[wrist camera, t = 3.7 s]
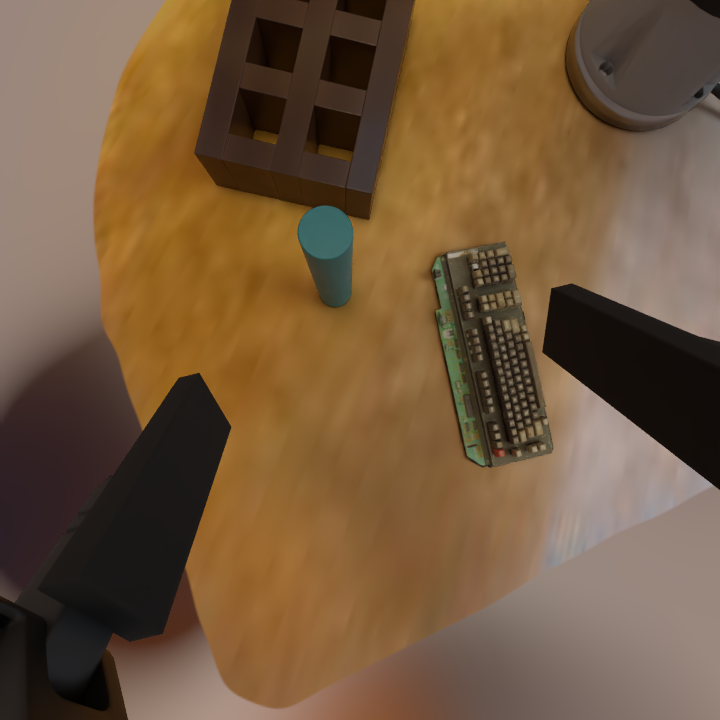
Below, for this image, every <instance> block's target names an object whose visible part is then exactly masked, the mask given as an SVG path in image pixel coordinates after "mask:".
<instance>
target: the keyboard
mask: <svg viewBox="0 0 720 720" xmlns="http://www.w3.org/2000/svg"><path fill="white" fill-rule="evenodd" d="M431 273H432V276H433V280H434V281H435V284H436V287H435V288H436V290H437V296H438V300H439V304H440V307H441V308H440V309H437V311H436V312H435V315H436V319H437V323H438V329H439V333H440V337H441V342H442V346H443V351H444V354H445V363H446V366H447V369H448V374H449V380H450V383H451V389H452V394H453V398H454V403H455V408H456V413H457V416H458V419H459V426H460V431H461V435H462V441H463V444H464V446H465V448H464V449H465V451H466V455H467V457H468V458H469V459H471V460H472V461H473V462H474V463H476V464H478V465H480V466H481V467H484V466H488V467H490V468H491V467H496V466H501V465H505V464H508V463H511V462H517V461H521V460H525V459H529V458H533V457H537V456H542V455H545V454H550V453H552V450H553V443H552V439H551V433H550V430H549V422H548V418H547V416H546V412H545V408H544V407H546V405H545V401H544V396H543V392H542V388H541V383H540V379H539V375H538V369H537V364H536V360H535V356H534V351H533V347H532V343H531V341H530V337H529V333H528V329H527V327H526V324H525V317H524V312H523V311H522V308H521V305H522V304H521V303H522V302H521V296H520V292H519V289H517V286H516V281H515V278H516V273H515V268H514V264H512V257H511V255H510V250H509V248H508V247H507V245H506V244H505V242H501V243H496V244H492V245H484V246H480V247H475V248H469V249H464V250H459V251H451V252H447V253H446V254H444V255H442V256H439V257H437V259H436V261H435V263H434V265H433V268H432V270H431Z"/></svg>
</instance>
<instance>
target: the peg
mask: <svg viewBox="0 0 720 720" xmlns="http://www.w3.org/2000/svg"><path fill="white" fill-rule="evenodd" d="M298 239H299V242H300V245H301V248H302V250H303V253H304V255H305V258H306V261H307V263H308V266H309V269H310V271H311V274H312V277H313V279H314V282H315V284H316V287H317V290H318V292H319V295H320V298H321V299H322V301H323V302H324V303H325V304H326V305H328V306H331V307H340V306H342V305H344V304H345V303H346V302H347V301H348V300H349V298H350V296H351V283H352V252H353V228H352V224H351V222H350V220H349V218H348V217H347V215H346V214H345V213H343V212H342V211H341V210H339V209H338V208H335V207H332V206H318V207H315V208H313V209H311V210H309V211H308V212H307V213H306V214H305V215H304V216H303V217H302V219H301V221H300V223H299V226H298Z"/></svg>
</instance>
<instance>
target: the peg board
mask: <svg viewBox="0 0 720 720" xmlns="http://www.w3.org/2000/svg"><path fill="white" fill-rule="evenodd" d="M414 6H415V0H232V1H231V5H230V9H229V13H228V17H227V21H226V25H225V29H224V33H223V38H222V42H221V46H220V50H219V54H218V58H217V62H216V66H215V70H214V74H213V79H212V83H211V87H210V91H209V95H208V99H207V103H206V107H205V111H204V115H203V119H202V124H201V128H200V132H199V136H198V140H197V144H196V148H195V152H194V153H195V155H196V156H197V158H198V159H199V161H200V162H201V163H202V165H203V166H204V168H205V169H206V171H207V172H208V173H209V175H210V176H211V178H212V179H213V180H214V182H215V183H216V185H219V186H223V187H227V188H232V189H236V190H241V191H245V192H250V193H254V194H258V195H263V196H267V197H272V198H276V199H280V200H281V199H282V200H284V201H289V202H293V203H297V204H302V205H306V206H311V207H318V206H332V207H335V208H338V209H339V210H341V211H342V212H343V213H345V214H347V215H351V216H356V217H360V218H364V219H369V217H370V213H371V208H372V203H373V199H374V194H375V189H376V185H377V180H378V175H379V171H380V166H381V161H382V157H383V152H384V147H385V143H386V138H387V133H388V129H389V124H390V119H391V115H392V110H393V105H394V101H395V96H396V91H397V87H398V82H399V77H400V73H401V68H402V64H403V59H404V54H405V50H406V45H407V40H408V36H409V31H410V26H411V22H412V17H413V11H414ZM269 67H270V68H269ZM273 68H274V69H273ZM277 69H278V70H277ZM281 70H282V71H281ZM285 71H286V72H285ZM289 72H291V73H289ZM292 73H293V74H292ZM255 128H256V129H260V130H265V131H269V132H273V133H278V134H279V136H278V140H277V144H276V145H275V144H271V143H266V142H262V141H258V140H253V139H252V137H253V133H254V129H255ZM319 143H320V144H324V145H328V146H333V147H337V148H341V149H346V150H350V151H353V156H352V161H351V162H349V161H345V160H341V159H336V158H332V157H328V156H323V155H319V154H317V149H318V145H319Z"/></svg>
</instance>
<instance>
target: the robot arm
mask: <svg viewBox="0 0 720 720" xmlns="http://www.w3.org/2000/svg"><path fill="white" fill-rule="evenodd" d="M566 63H567V70H568V74H569V78H570V81H571V84H572V86H573V88H574V90H575V92H576V94H577V95H578V97H579V98H580V100H581V101H582V102H583V104H584V105H585V106H586V107H587V108H588V109H589V110H590V111H591V112H592V113H593V114H595V115H596V116H597V117H599V118H600V119H602V120H603V121H605V122H607V123H609V124H611V125H614V126H616V127H619V128H623V129H627V130H634V131H647V130H654V129H658V128H662V127H664V126H667V125H669V124H671V123H673V122H675V121H676V120H678V119H679V118H680V117H682V116H683V115H684V114H686V113H687V112H688V111H690V110H691V109H692V108H694V107H695V106H696V105H697V104H699V103H700V102H701V101H702V100H703V99H705V98H706V97H707V95H708V94H709V93H710V92H711V93H712V94H713V95H715V96H716V97H717V98H718V99H720V84H719V83H718V82H719V81H720V0H590V1H589V3H588V4H587V6H586V8H585V9H584V11H583V12H582V14H581V15H580V17H579V18H578V20H577V21H576V23H575V25H574V27H573V29H572V31H571V33H570V36H569V39H568V44H567V50H566ZM542 352H543V353H544V354H545V355H547V356H548V357H549V358H551V359H552V360H553V361H554V362H556V363H557V364H558V365H560V366H561V367H562V368H563V369H565V370H566V371H567V372H569V373H570V374H571V375H572V376H574V377H575V378H576V379H578V380H579V381H580V382H581V383H583V384H584V385H585V386H587V387H588V388H589V389H590V390H592V391H593V392H594V393H596V394H597V395H598V396H599V397H601V398H602V399H603V400H605V401H606V402H607V403H609V404H610V405H611V406H612V407H614V408H615V409H616V410H618V411H619V412H620V413H621V414H623V415H624V416H625V417H627V418H628V419H629V420H630V421H632V422H633V423H634V424H636V425H637V426H638V427H639V428H641V429H642V430H643V431H645V432H646V433H647V434H648V435H650V436H651V437H652V438H654V439H655V440H656V441H657V442H659V443H660V444H661V445H663V446H664V447H665V448H666V449H668V450H669V451H670V452H672V453H673V454H674V455H675V456H677V457H678V458H679V459H681V460H682V461H683V462H684V463H686V464H687V465H688V466H690V467H691V468H692V469H693V470H695V471H696V472H697V473H699V474H700V475H701V476H703V477H704V478H705V479H706V480H708V481H709V482H710V483H712V484H713V485H714V486H715V487H717V488H718V489H719V490H720V342H719V341H715V340H711V339H706V338H702V337H698V336H696V335H693V334H691V333H689V332H686V331H684V330H681V329H679V328H677V327H674V326H672V325H670V324H667V323H665V322H662V321H660V320H658V319H655V318H653V317H651V316H648V315H646V314H643V313H641V312H639V311H636V310H634V309H631V308H629V307H627V306H624V305H622V304H620V303H617V302H615V301H612V300H610V299H608V298H605V297H603V296H601V295H598V294H596V293H593V292H591V291H589V290H586V289H584V288H582V287H579V286H577V285H574V284H568V285H563V286H559V287H555V288H551V295H550V302H549V309H548V316H547V323H546V330H545V337H544V344H543V351H542ZM230 430H231V426H230V424H229V422H228V421H227V419H226V417H225V415H224V414H223V412H222V410H221V409H220V407H219V405H218V404H217V402H216V400H215V399H214V397H213V395H212V394H211V392H210V390H209V388H208V387H207V385H206V383H205V382H204V380H203V378H202V377H201V375H200V373H197V374H193V375H189V376H185V377H180V378H178V380H177V381H176V383H175V384H174V386H173V387H172V389H171V390H170V392H169V393H168V395H167V396H166V398H165V399H164V401H163V402H162V403H161V405H160V406H159V408H158V409H157V411H156V412H155V414H154V415H153V417H152V418H151V420H150V421H149V423H148V424H147V426H146V427H145V429H144V430H143V432H142V433H141V435H140V436H139V438H138V439H137V441H136V442H135V444H134V445H133V447H132V448H131V450H130V451H129V453H128V454H127V456H126V457H125V459H124V460H123V461H122V463H121V464H120V466H119V467H118V469H117V470H116V472H115V473H114V475H111V476H109V477H108V478H107V479H106V480H105V481H104V482H103V483H102V484H101V485H100V486H99V487H98V488H97V489H96V490H95V491H94V492H93V493H92V494H91V495H90V497H89V498H88V499H87V501H86V502H85V504H84V505H83V506H82V508H81V509H80V511H79V512H78V516H77V517H75V518H74V519H73V521H72V522H71V524H70V525H69V526H68V528H67V532H66V533H65V534H63V535H62V536H61V538H60V539H59V541H58V542H57V543H56V545H55V547H54V548H53V549H52V551H51V552H50V553H49V555H48V556H47V558H46V559H45V560H44V562H43V563H42V565H41V566H40V568H39V569H38V571H37V572H36V573H35V575H34V576H33V578H32V579H31V580H30V582H29V583H28V585H27V586H26V588H25V589H24V590H23V592H22V593H21V595H20V596H19V598H18V599H17V600H16V602H15V603H13V602H11V601H9V600H7V599H5V598H3V597H1V596H0V720H128V718H127V714H126V709H125V705H124V700H123V696H122V692H121V687H120V683H119V679H118V675H117V670H116V666H115V661H114V658H113V656H112V655H111V653H110V652H109V651H108V650H106V647H107V645H108V643H109V640H110V638H111V636H112V633H115V634H117V635H119V636H120V637H122V638H124V639H126V640H127V641H129V642H131V641H135V640H138V639H143V638H147V637H151V636H155V635H159V634H163V631H164V628H165V625H166V622H167V619H168V616H169V613H170V610H171V607H172V604H173V601H174V598H175V595H176V592H177V589H178V586H179V583H180V580H181V577H182V574H183V571H184V568H185V565H186V562H187V559H188V556H189V553H190V550H191V547H192V544H193V541H194V538H195V535H196V532H197V529H198V526H199V523H200V520H201V517H202V514H203V511H204V508H205V505H206V502H207V499H208V496H209V493H210V490H211V487H212V484H213V481H214V478H215V475H216V472H217V469H218V466H219V463H220V460H221V457H222V454H223V451H224V448H225V445H226V442H227V439H228V436H229V433H230Z"/></svg>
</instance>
